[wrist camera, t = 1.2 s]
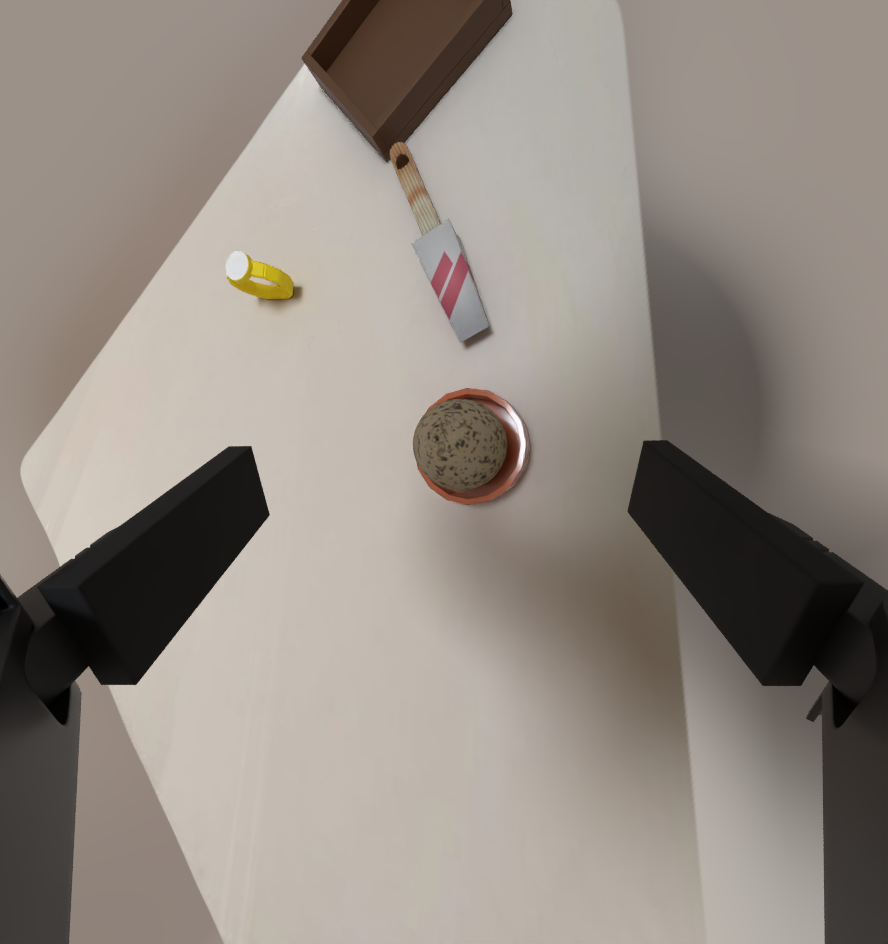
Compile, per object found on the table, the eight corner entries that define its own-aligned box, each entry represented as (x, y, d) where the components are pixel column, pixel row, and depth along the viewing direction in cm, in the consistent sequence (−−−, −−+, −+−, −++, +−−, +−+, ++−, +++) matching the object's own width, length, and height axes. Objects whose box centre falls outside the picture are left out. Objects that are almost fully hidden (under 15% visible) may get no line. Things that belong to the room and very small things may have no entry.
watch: (258, 306, 43) (210, 282, 37) (260, 281, 42) (212, 253, 37) (302, 304, 41) (258, 278, 35) (304, 278, 41) (260, 247, 35)
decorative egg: (488, 392, 33) (454, 362, 24) (530, 461, 32) (511, 458, 23) (423, 435, 35) (369, 423, 26) (461, 502, 34) (417, 514, 25)
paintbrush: (448, 339, 32) (375, 151, 35) (459, 350, 34) (389, 174, 38) (490, 316, 31) (410, 124, 34) (497, 329, 33) (422, 149, 36)
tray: (429, -60, 36) (416, -106, 33) (512, 14, 33) (506, -29, 30) (320, 87, 40) (301, 57, 37) (387, 162, 37) (371, 137, 34)
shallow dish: (539, 402, 33) (536, 396, 30) (518, 511, 33) (513, 515, 30) (437, 389, 36) (425, 382, 33) (419, 489, 36) (406, 490, 34)
